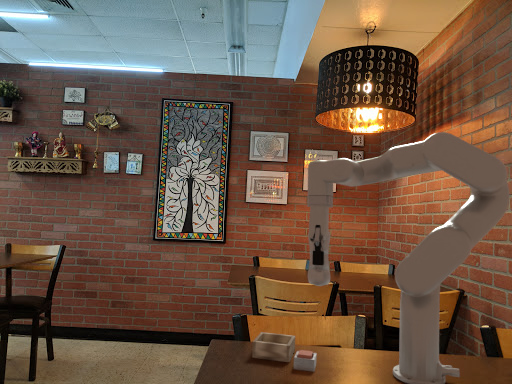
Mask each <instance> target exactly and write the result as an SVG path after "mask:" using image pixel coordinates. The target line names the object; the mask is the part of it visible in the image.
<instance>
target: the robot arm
mask: <svg viewBox="0 0 512 384" xmlns="http://www.w3.org/2000/svg"><path fill="white" fill-rule="evenodd" d="M441 171H442V172H444V173H446V174H447V175H449V176H450V177H453V178H454V179H456V180H458V181H460V182H462V183H463V184H465V185H466V186H468V187H469V188H470V191H471V192H470V196H469V198H468V200H467V201H465V203H464V204H463V205H462V206H461V207H459V209H458V210H457V211H456V212H455V213H454V214H453V215H452V216H450V218H449V219H448V220H447V221H445V223H444V224H442V225H440V226H438V227H435V228H434V229H433V230H431V232H430V233H428V234H427V235H426V236H425V237H424V238H423V240H421V242H420V243H418V244H417V245H416V246H415V247H414V248H413V249H412V250H411V251H410V252H409V253H408V254H407V255H406V256H405V257H404V258H403V259H402V260H401V261H400V262H399V263H398V265H397V266H396V269H395V272H394V273H395V274H394V279H395V283H396V285H397V287H398V289H399V290H400V298H399V348H398V349H399V353H398V354H399V355H398V358H399V359H398V364H397V365H395V366H393V368H392V374H393V376H394V377H395V378H396V379H397V380H398V381H400V382H403V383H405V384H445V383H446V376H450V377H457V378H460V375H461V373H460V368H455V367H453V366H452V365H447V364H446V365H445V364H442V363H441V361H440V302H441V301H440V299H441V298H440V297H441V296H440V295H441V294H440V293H441V284H442V283H443V282H444V281H445V280H446V279H447V278H448V277H449V276H451V274H453V272H454V271H455V270H457V269H458V268H459V267H460V266H462V264H463V263H464V262H465V261H466V260H467V258H468V257H469V256H470V254H471V251H472V250H473V248H475V246H476V245H477V244H478V243H479V242H480V241H481V240H483V238H485V237H486V236H487V234H488V233H489V232H490V231H491V230H492V229H494V227H495V226H496V225H497V224H498V223H499V222H500V220H501V219H502V218H503V217H504V215H505V213H506V212H507V210H508V206H509V204H510V189H509V184H508V182H507V180H508V170H507V166H506V165H505V164H504V162H503V161H501V160H500V159H499V158H498V157H496V156H494V155H493V154H491V153H489V152H487V151H485V150H483V149H481V148H478V147H477V146H475V145H473V144H471V143H469V142H467V141H465V140H464V139H461V138H460V137H458V136H456V135H454V134H452V133H449V132H445V131H440V132H436V133H435V132H434V133H433V134H431V135H429V136H428V137H426V139H425V140H422V141H417V142H414V143H413V142H411V143H408V144H402V145H397V146H394V147H391V148H389V149H388V150H386V152H384V153H383V154H381V155H379V156H377V157H372V158H367V159H363V160H359V161H354V160H352V159H349V158H346V157H342V158H341V157H340V158H336V159H329V160H322V159H321V160H312V161H310V162H309V163H308V165H307V197H306V198H307V208H309V217H308V218H309V219H308V233H309V238H308V239H309V240H310V241H311V239H310V238H313V236H314V242H313V260H312V264H313V265H324V251H323V241H325V240H326V235H327V231H329V226H330V225H329V222H330V218H329V217H330V216H329V215H330V208H334V184H336V185H341V186H346V187H352V188H353V187H361V186H364V185H371V184H377V183H381V182H386V181H392V180H396V179H400V178H401V179H402V178H405V177H412V176H417V175H423V174H430V173H435V172H441ZM320 229H321V232H320ZM320 238H322V240H320ZM309 240H308V241H309Z"/></svg>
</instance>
